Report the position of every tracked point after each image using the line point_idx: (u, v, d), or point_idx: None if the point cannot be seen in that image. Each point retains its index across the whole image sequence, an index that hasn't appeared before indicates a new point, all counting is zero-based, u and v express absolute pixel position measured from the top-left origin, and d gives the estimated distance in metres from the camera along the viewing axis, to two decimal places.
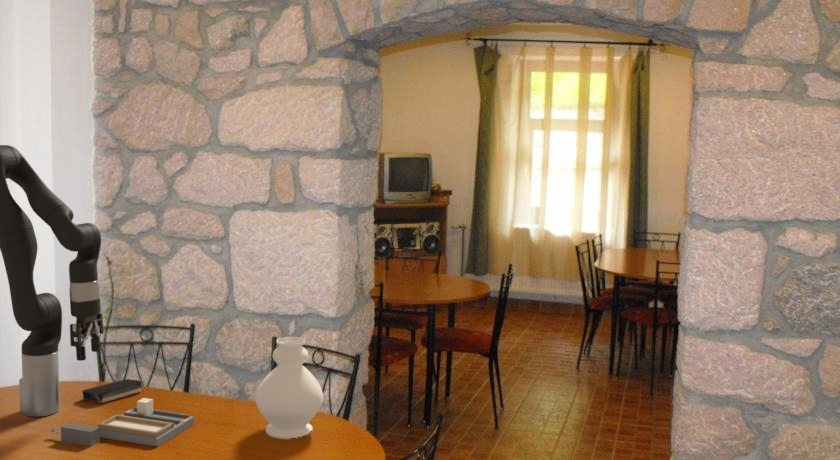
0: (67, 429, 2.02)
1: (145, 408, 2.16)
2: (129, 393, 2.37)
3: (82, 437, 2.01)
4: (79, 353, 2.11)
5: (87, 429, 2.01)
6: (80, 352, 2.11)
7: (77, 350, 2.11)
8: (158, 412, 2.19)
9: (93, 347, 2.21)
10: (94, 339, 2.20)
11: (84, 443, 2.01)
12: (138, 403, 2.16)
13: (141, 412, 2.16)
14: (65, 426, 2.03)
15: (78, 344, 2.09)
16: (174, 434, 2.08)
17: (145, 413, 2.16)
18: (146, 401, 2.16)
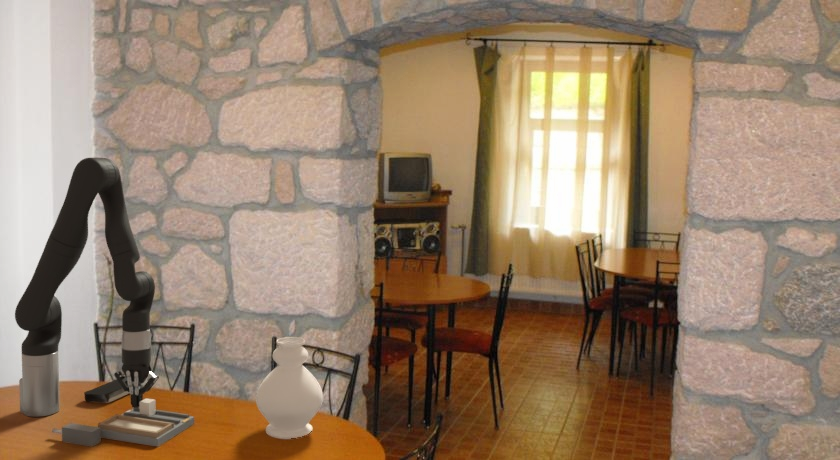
0: (68, 429, 2.02)
1: (147, 408, 2.15)
2: None
3: (83, 437, 2.01)
4: (141, 399, 2.18)
5: (88, 429, 2.01)
6: (142, 398, 2.18)
7: (140, 397, 2.17)
8: (158, 412, 2.19)
9: None
10: None
11: (85, 443, 2.01)
12: (140, 403, 2.16)
13: (143, 412, 2.16)
14: (66, 426, 2.03)
15: (148, 389, 2.18)
16: (174, 434, 2.08)
17: (147, 413, 2.16)
18: (148, 401, 2.16)
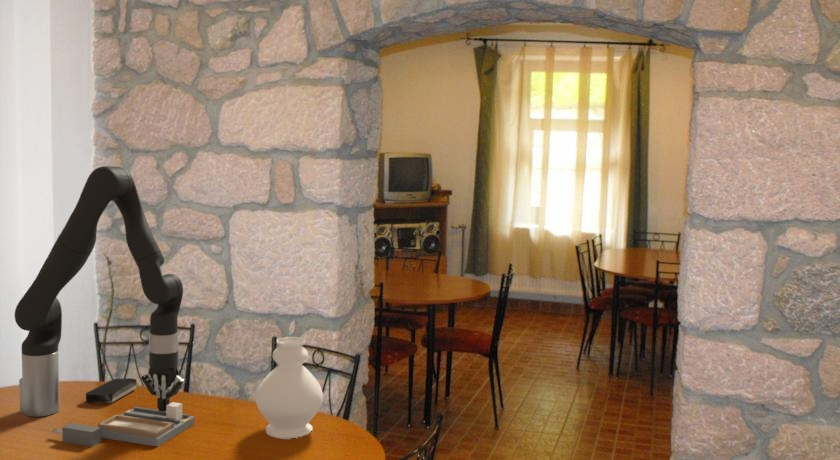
0: (69, 429, 2.02)
1: (174, 412, 2.13)
2: (129, 391, 2.39)
3: (83, 437, 2.01)
4: (168, 403, 2.15)
5: (89, 429, 2.01)
6: (168, 402, 2.16)
7: (167, 401, 2.15)
8: (158, 412, 2.19)
9: None
10: None
11: (85, 443, 2.01)
12: (167, 407, 2.14)
13: (170, 416, 2.14)
14: (66, 426, 2.03)
15: (175, 393, 2.15)
16: (174, 434, 2.08)
17: (174, 417, 2.13)
18: (175, 405, 2.14)
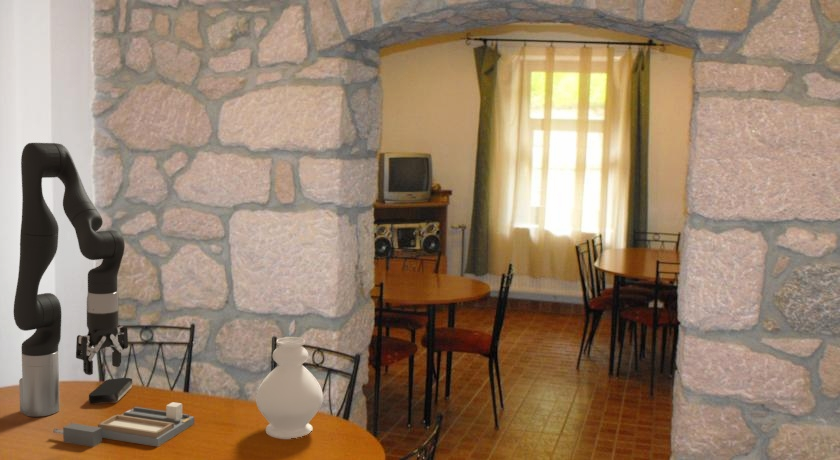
0: (69, 429, 2.01)
1: (174, 412, 2.13)
2: (127, 390, 2.40)
3: (84, 437, 2.01)
4: None
5: (90, 429, 2.01)
6: None
7: None
8: (158, 412, 2.19)
9: None
10: None
11: (86, 443, 2.01)
12: (167, 407, 2.14)
13: (170, 416, 2.14)
14: (67, 426, 2.02)
15: None
16: (174, 434, 2.08)
17: (174, 417, 2.13)
18: (175, 405, 2.14)
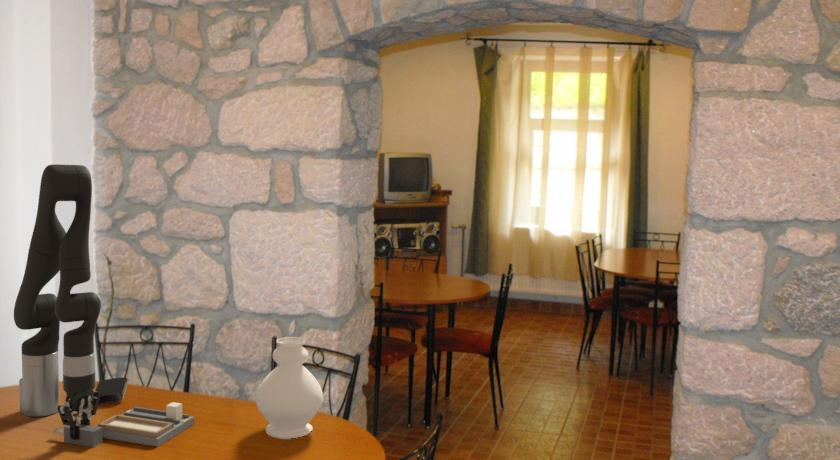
0: None
1: (174, 412, 2.13)
2: None
3: (85, 437, 2.00)
4: None
5: (90, 429, 2.01)
6: None
7: None
8: (158, 412, 2.19)
9: None
10: None
11: (87, 443, 2.00)
12: (167, 407, 2.14)
13: (170, 416, 2.14)
14: (68, 426, 2.02)
15: None
16: (174, 434, 2.08)
17: (174, 417, 2.13)
18: (175, 405, 2.14)
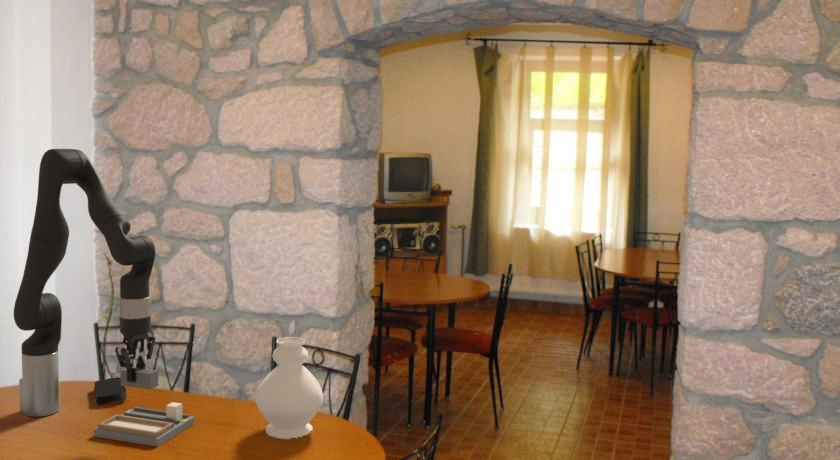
0: None
1: (174, 412, 2.13)
2: None
3: (141, 379, 2.02)
4: None
5: (147, 372, 2.03)
6: None
7: None
8: (158, 412, 2.19)
9: None
10: None
11: (144, 385, 2.02)
12: (167, 407, 2.14)
13: (170, 416, 2.14)
14: (124, 369, 2.04)
15: None
16: (174, 434, 2.08)
17: (174, 417, 2.13)
18: (175, 405, 2.14)
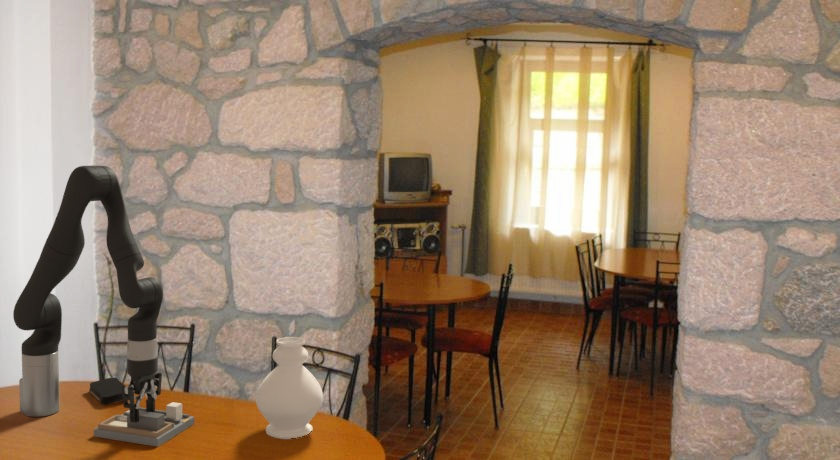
0: None
1: (174, 412, 2.13)
2: None
3: (148, 423, 2.05)
4: None
5: (153, 415, 2.06)
6: None
7: None
8: (158, 412, 2.19)
9: None
10: None
11: (150, 429, 2.05)
12: (167, 407, 2.14)
13: (170, 416, 2.14)
14: None
15: None
16: (174, 434, 2.08)
17: (174, 417, 2.13)
18: (175, 405, 2.14)
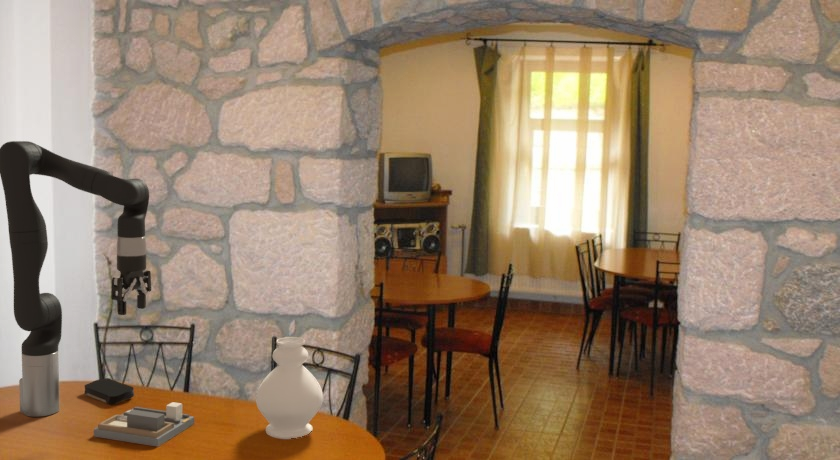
0: (133, 416, 2.06)
1: (174, 412, 2.13)
2: None
3: (148, 423, 2.05)
4: None
5: (153, 415, 2.06)
6: None
7: None
8: (158, 412, 2.19)
9: None
10: None
11: (150, 429, 2.05)
12: (167, 407, 2.14)
13: (170, 416, 2.14)
14: (131, 413, 2.07)
15: None
16: (174, 434, 2.08)
17: (174, 417, 2.13)
18: (175, 405, 2.14)
